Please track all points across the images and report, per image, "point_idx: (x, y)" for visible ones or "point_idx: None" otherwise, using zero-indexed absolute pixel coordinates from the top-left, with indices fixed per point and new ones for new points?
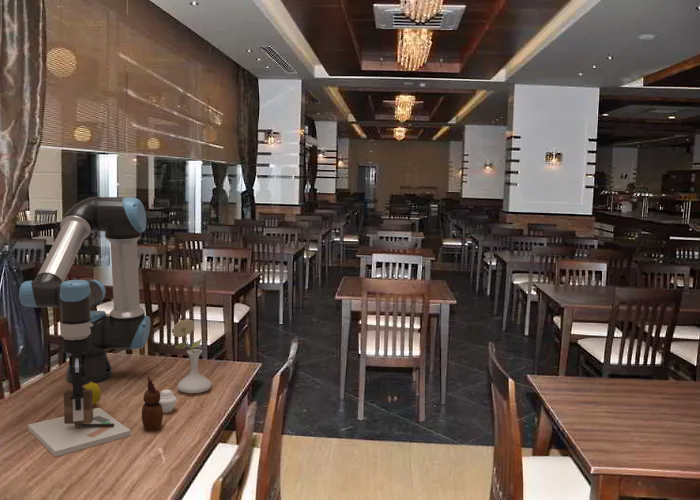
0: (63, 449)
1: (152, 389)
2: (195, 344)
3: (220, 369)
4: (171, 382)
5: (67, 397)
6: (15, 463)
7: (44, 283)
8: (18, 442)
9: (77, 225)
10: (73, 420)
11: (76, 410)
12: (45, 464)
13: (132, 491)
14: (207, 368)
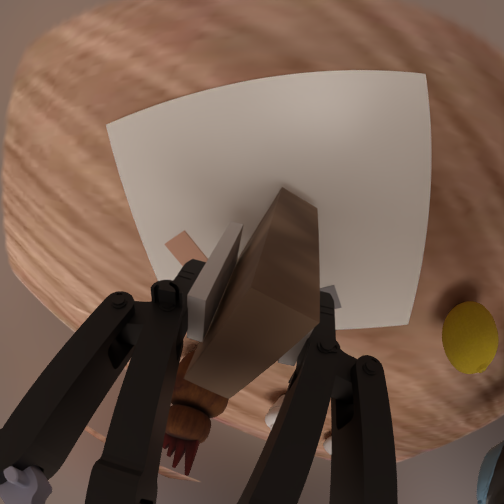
0: (112, 148)
1: (170, 442)
2: None
3: (398, 453)
4: (419, 422)
5: (244, 280)
6: (128, 18)
7: None
8: (303, 14)
9: None
10: (229, 224)
11: (190, 263)
12: (89, 97)
13: (9, 236)
14: (417, 447)
